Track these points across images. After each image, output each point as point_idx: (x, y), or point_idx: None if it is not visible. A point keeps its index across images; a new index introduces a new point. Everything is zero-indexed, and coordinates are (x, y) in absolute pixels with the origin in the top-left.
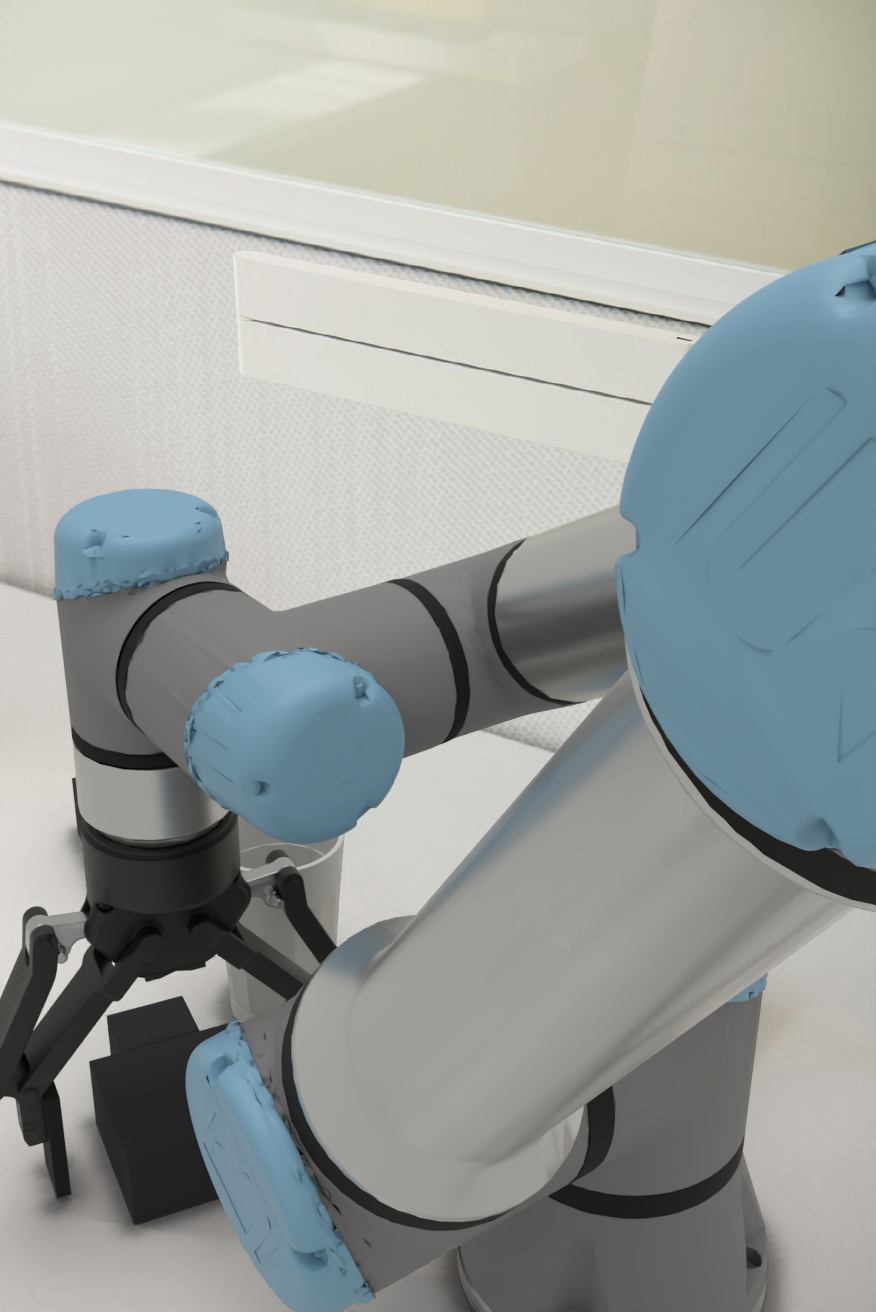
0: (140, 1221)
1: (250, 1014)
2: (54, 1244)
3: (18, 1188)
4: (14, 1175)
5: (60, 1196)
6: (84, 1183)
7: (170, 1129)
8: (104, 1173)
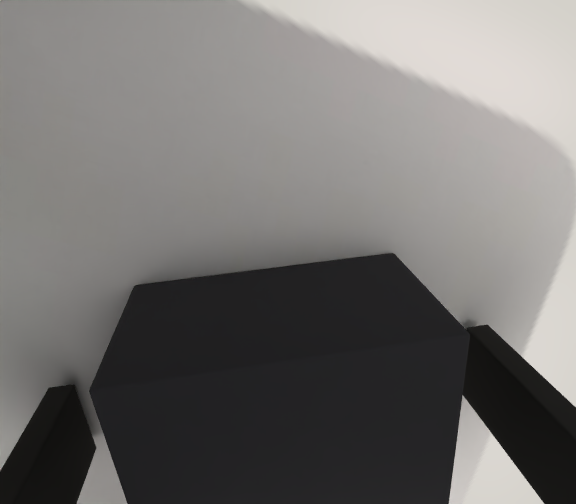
0: (385, 254)
1: None
2: (509, 248)
3: None
4: None
5: (483, 326)
6: None
7: (357, 391)
8: None
